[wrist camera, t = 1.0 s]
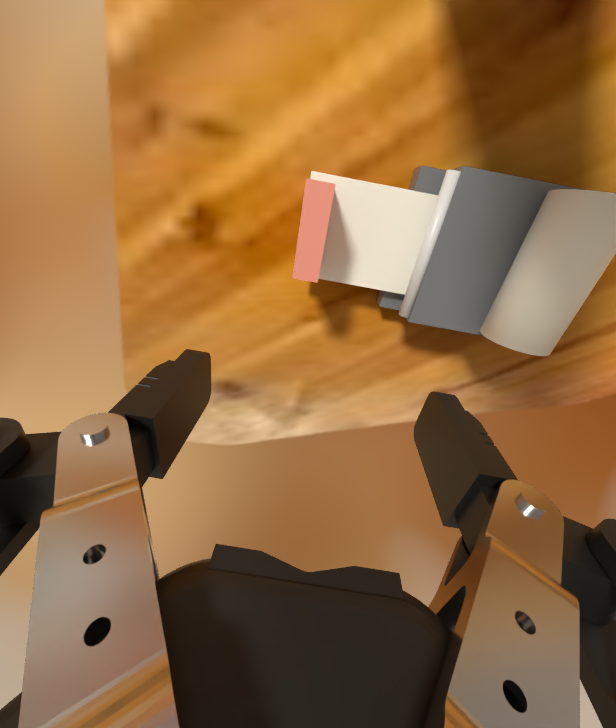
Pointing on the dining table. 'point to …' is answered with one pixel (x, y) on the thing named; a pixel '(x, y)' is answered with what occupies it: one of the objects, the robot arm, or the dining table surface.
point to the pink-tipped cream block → (360, 232)
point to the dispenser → (506, 256)
